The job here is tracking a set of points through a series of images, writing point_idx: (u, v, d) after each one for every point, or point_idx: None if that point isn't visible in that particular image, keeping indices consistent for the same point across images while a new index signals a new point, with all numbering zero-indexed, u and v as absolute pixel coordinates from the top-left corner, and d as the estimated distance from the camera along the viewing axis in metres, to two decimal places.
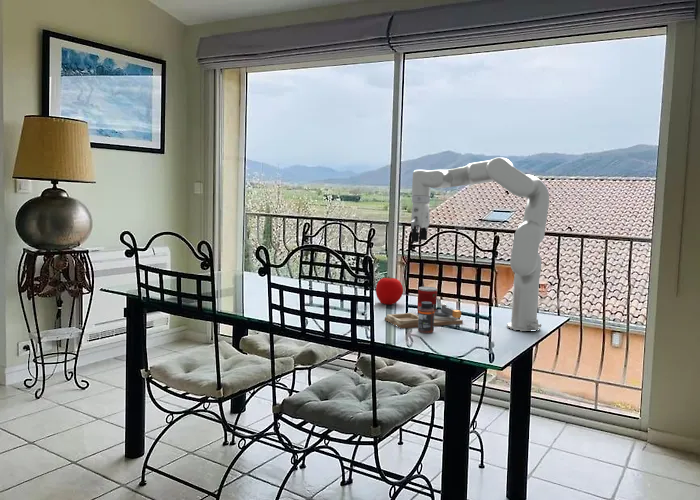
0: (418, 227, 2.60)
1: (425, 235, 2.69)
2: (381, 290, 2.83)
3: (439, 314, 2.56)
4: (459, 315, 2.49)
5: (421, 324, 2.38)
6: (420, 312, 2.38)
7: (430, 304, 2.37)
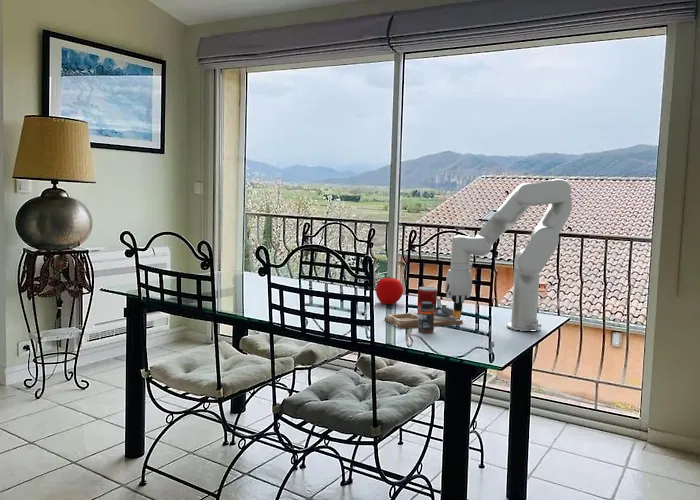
0: (460, 296, 2.55)
1: None
2: (381, 290, 2.83)
3: (439, 314, 2.56)
4: (459, 315, 2.49)
5: (421, 324, 2.38)
6: (420, 312, 2.38)
7: (430, 304, 2.37)
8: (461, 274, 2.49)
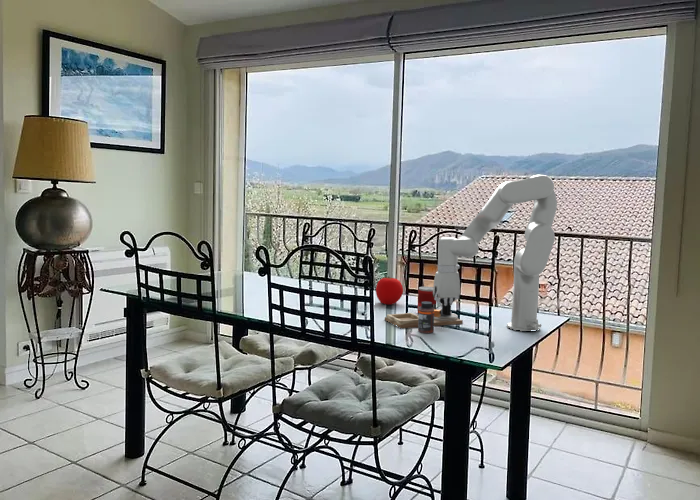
0: None
1: None
2: (381, 290, 2.83)
3: None
4: (437, 315, 2.48)
5: (421, 324, 2.38)
6: (420, 312, 2.38)
7: (430, 304, 2.37)
8: (449, 276, 2.47)
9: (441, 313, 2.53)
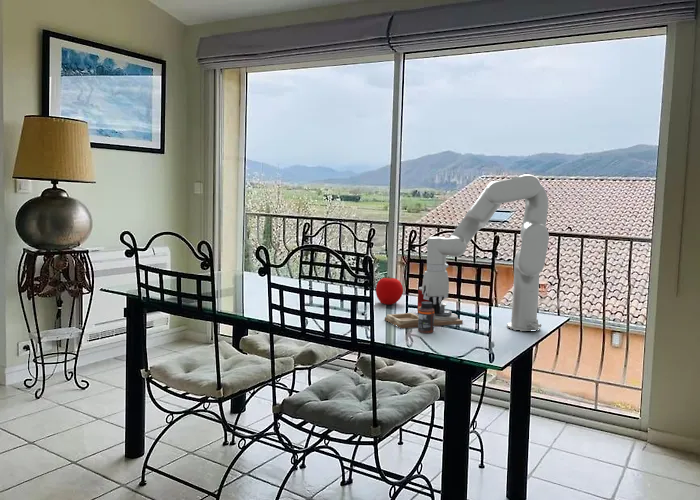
0: None
1: None
2: (381, 290, 2.83)
3: None
4: None
5: (421, 324, 2.38)
6: (420, 312, 2.38)
7: (430, 304, 2.37)
8: (438, 275, 2.49)
9: None
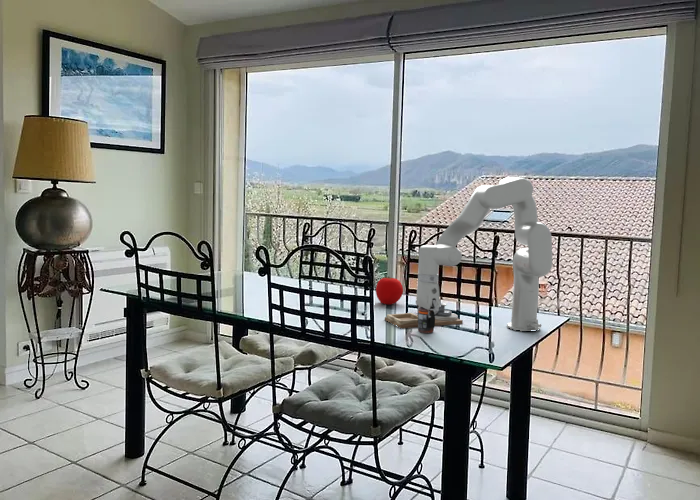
0: None
1: None
2: (381, 290, 2.83)
3: None
4: None
5: (421, 324, 2.38)
6: (420, 312, 2.38)
7: None
8: (420, 285, 2.38)
9: None
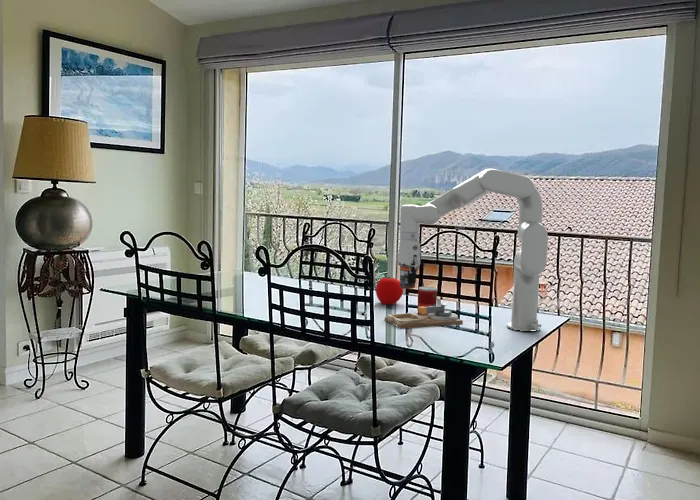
0: None
1: None
2: (381, 290, 2.83)
3: None
4: (420, 311, 2.53)
5: (402, 280, 2.48)
6: (402, 269, 2.48)
7: None
8: (402, 242, 2.48)
9: (431, 311, 2.55)
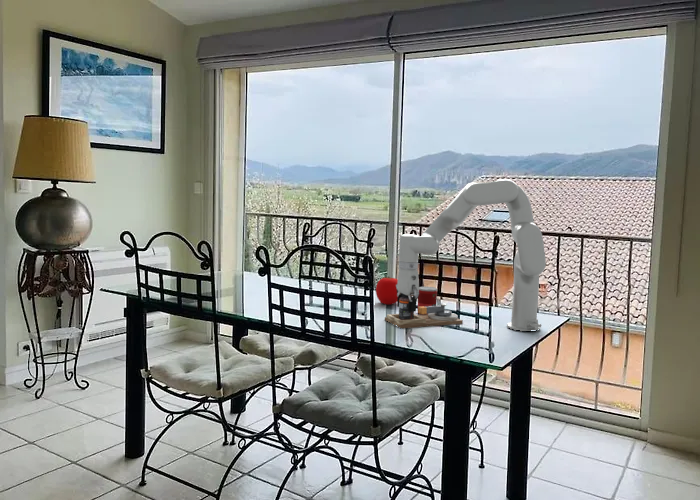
0: None
1: None
2: (381, 290, 2.83)
3: None
4: (420, 311, 2.53)
5: (401, 312, 2.50)
6: (400, 301, 2.50)
7: None
8: (401, 272, 2.50)
9: (431, 311, 2.55)
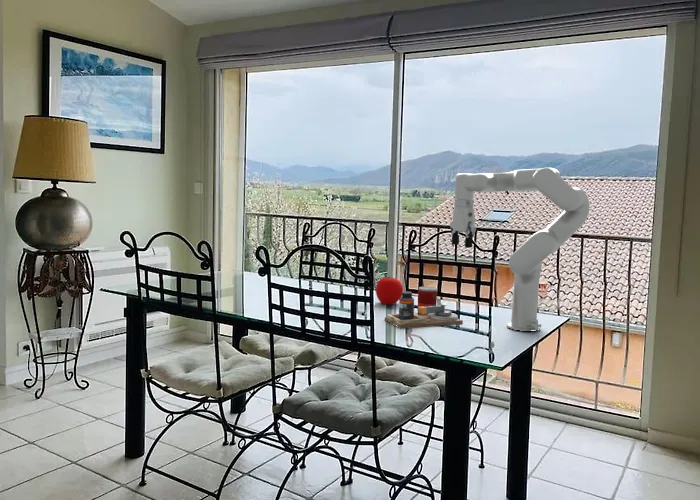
0: None
1: (458, 239, 2.64)
2: (381, 290, 2.83)
3: None
4: (420, 311, 2.53)
5: (401, 312, 2.50)
6: (400, 301, 2.50)
7: (410, 294, 2.50)
8: (457, 210, 2.57)
9: (431, 311, 2.55)
